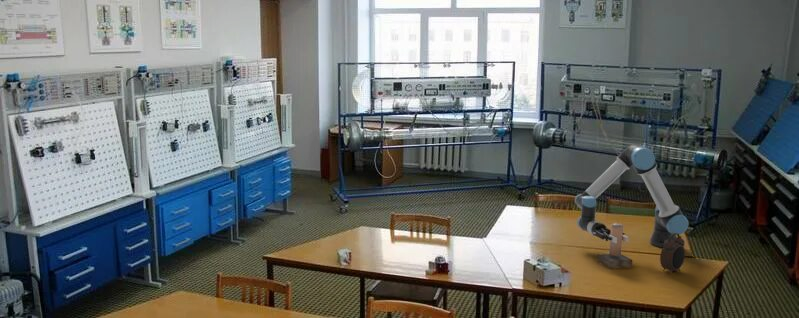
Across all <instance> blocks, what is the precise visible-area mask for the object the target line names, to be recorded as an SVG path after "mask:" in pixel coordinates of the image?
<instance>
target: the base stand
mask: <svg viewBox="0 0 799 318" xmlns="http://www.w3.org/2000/svg"><path fill="white" fill-rule="evenodd" d="M596 261H597V263H598V264H600V263H601V264H600V265H602V266H604V267H606V268H608V269H611V270H612V269H623V267H624V268H632V267H633V259H631V258H629V257H628V256H626V255H623V254H621V255H620V256H613V255H610V254H609V253H605V254H604V253H603V254H598V255H597V260H596Z"/></svg>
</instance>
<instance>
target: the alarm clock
mask: <svg viewBox="0 0 799 318" xmlns="http://www.w3.org/2000/svg"><path fill="white" fill-rule="evenodd" d="M676 234H677V235H676ZM673 235H676V238H674V239H673V240H672V239H671V237H672V236H673ZM684 246H685V240H684V238H682V236H681V235H679V234H678V233H673V234H671V235H670V236H669V239H668V240H666V241H665V242H664V247H662V248H661V252H660V257H659V262H660V265H661V267H662V268H663V270H662V271H663V272H665V270H669V275H670V274H671V273H672V272H673V271H674V272H676V271H679V272H680V271H681V268H682V266H683V264H684V261H685V257H686V250H685V247H684ZM671 275H672V274H671Z"/></svg>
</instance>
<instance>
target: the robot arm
mask: <svg viewBox="0 0 799 318" xmlns="http://www.w3.org/2000/svg"><path fill="white" fill-rule="evenodd" d="M657 167H658V164H657V162H656V156H655V154H654V152H653V151H652V150H651V149H650V148H648V147H646V146H642V145H640V144H639V143H638V144H630V145H629V146H627V147H626V148H625V149H624V150H622V152H621V153H619V154H618V155H617V156H616V160H615V161H614V162H613V163H612V164H611V165H610V166H609V167H608V168H606V170H605V171H604V172H603V173H602V174H601V175H600V176H598V177H597V179H595V180H594V181H593V182H592V183H591V185H590V186H589V187H587V188H586V190H584V191H582V193H579V194H577V195H576V196H575V198H574V203H575V204H576V206H577V207H578V208H580V210H581V215H580V217H578V219H577V221H576V223H577V226H578V228H580V229H581V230H582V231H585V232H587V233H589V234H591V235H592V236H594V237H595V236H596V237H597V238H599V239H601V240H605V242H608V241H609V242H610V241H612V242H614V243H617V238H616V237H614V236H611V235H610V233H611V228H610V229H609V228H607V226H606V225H605V224H604V223H602V222H599V221H597V220H596V208H597V199H598V197H600V196H601V195H602V193H603V192H605V191H606V190H607V189H608V188H609V187H610V186H611V185H612V184H613V183H614V182H615V181H616V180H617V179H618V178H619V177H621V175H623V173H624V172H625V171H627V170H630V169H631V168H633V169H634V171H635V172H636V174H637V176H638V175H639V176H641V179H642V180H643V181H644V183H645V186H646V188H647V189H648V191H649V193H650V196H651V197H652V200H653V201H654V203H655V205H656V206H655V210H654V223H653V224H654V225H653V226H654V227H653V232H652V234H651V236H650V238H649V244H650V245H651V246H655V247H659V248H663V247H664V242H665V241H666V240H668V239H669V236H670V235H671V234H673V233H678V234H679V236H681V235H682V234H684V233H685V232H686V231H687V230H688V227H689V220H688V218H687V217H686V216H685V215H684V213H682V210H681V209H680V207H679V205H676V204H675V203H674V202H673V199H672V197H671V196H670V194H669V192H668V190H667V188H666V186H665V184H664V182H663V180H662V177H661V176H660V174H659V172H658V170H657ZM676 237H677V234H676V235H673V236H672V237H671V239H672V240H673V239H674V238H676ZM622 242H625V243H629V237H628V236H627V235H625V233H624V232H623V234H622Z"/></svg>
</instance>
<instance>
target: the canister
mask: <svg viewBox="0 0 799 318" xmlns="http://www.w3.org/2000/svg"><path fill="white" fill-rule="evenodd" d="M610 230H611V233H610V235H611V236H614V237H616V238H617V243H614V242H612V241H610V240H609V248H608V249H609V250H608V252H609V253H608V254H610V255H613V256H620V255H622V248H623V247H622V245H623V240H622V234H623V233H624V232H623V231H624V224H622V223H619V222H618V223H617V222H612V223H611V224H610Z"/></svg>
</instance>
